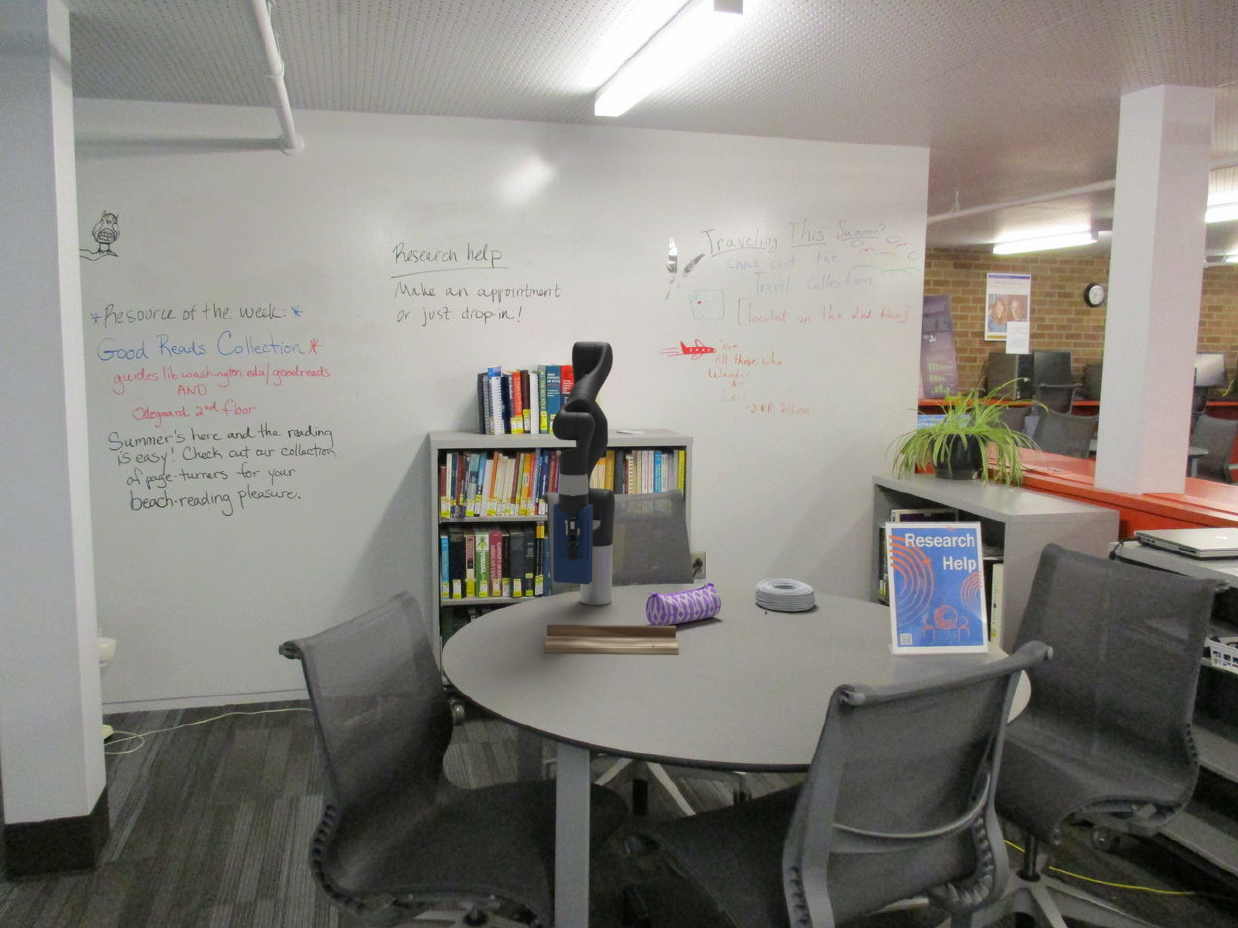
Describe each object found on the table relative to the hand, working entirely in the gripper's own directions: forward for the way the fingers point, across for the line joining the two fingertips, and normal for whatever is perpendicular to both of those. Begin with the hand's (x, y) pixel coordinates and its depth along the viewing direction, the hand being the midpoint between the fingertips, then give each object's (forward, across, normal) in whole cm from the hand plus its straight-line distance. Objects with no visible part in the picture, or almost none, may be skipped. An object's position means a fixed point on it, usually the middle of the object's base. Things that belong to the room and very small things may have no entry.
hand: (573, 556), depth 223 cm
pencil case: (+20, -10, +30) cm, 37 cm away
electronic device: (+7, 0, 0) cm, 7 cm away
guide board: (+20, +12, +10) cm, 25 cm away
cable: (+21, -28, +61) cm, 70 cm away
